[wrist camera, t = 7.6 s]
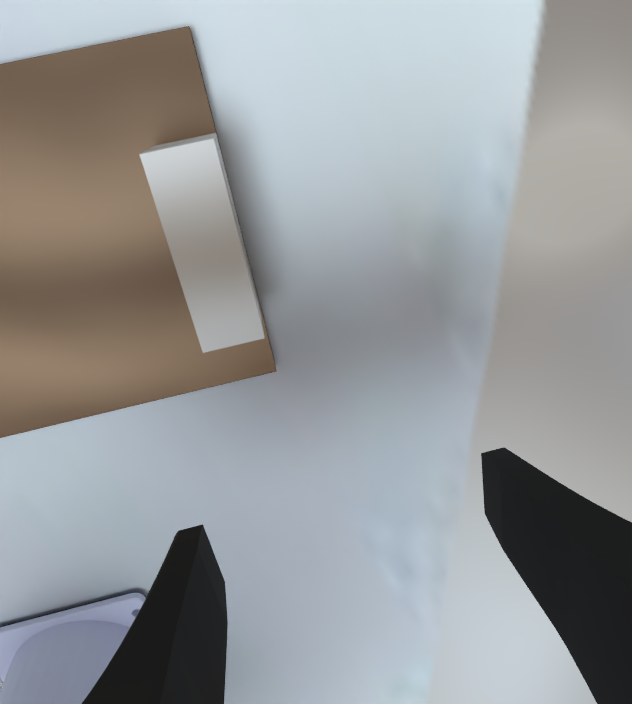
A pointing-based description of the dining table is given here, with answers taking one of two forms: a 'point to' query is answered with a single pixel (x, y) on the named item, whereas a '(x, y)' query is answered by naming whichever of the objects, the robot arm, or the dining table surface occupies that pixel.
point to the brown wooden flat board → (117, 236)
